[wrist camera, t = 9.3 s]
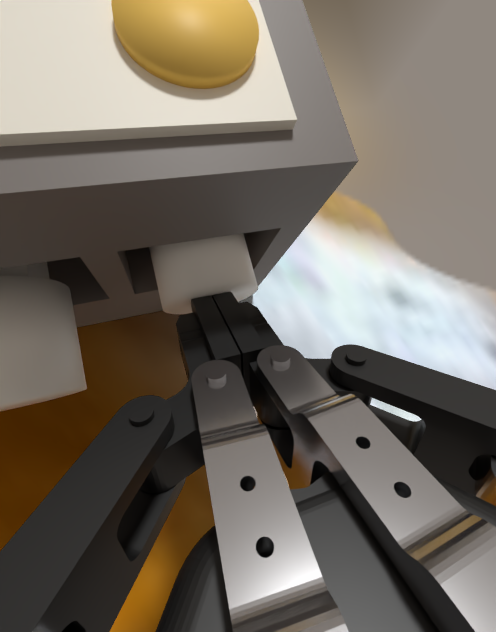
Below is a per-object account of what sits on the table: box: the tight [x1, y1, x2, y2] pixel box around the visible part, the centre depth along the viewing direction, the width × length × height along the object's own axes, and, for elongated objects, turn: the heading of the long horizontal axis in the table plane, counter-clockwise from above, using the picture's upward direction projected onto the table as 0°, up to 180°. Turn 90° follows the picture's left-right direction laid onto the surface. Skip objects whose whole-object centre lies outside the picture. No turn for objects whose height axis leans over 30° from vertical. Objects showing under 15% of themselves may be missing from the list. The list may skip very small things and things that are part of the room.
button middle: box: [0, 262, 87, 411], centre depth 11 cm, size 4×6×4 cm, turn 15°
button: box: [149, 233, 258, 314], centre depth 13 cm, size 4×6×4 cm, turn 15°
